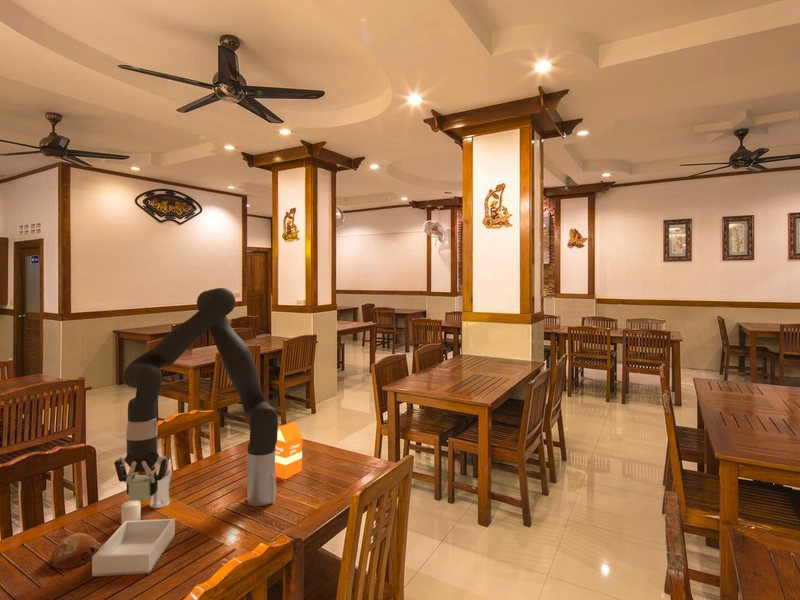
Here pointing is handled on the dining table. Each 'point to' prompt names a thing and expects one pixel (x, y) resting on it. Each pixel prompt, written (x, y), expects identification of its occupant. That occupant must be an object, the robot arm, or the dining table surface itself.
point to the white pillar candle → (130, 511)
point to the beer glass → (162, 488)
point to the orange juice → (288, 451)
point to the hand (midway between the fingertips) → (142, 494)
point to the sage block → (139, 488)
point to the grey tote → (133, 548)
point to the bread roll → (74, 551)
